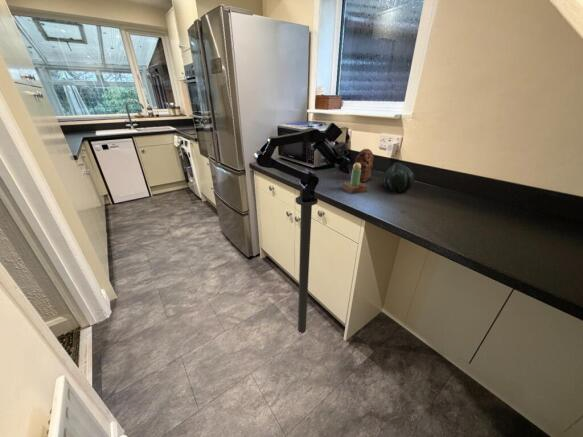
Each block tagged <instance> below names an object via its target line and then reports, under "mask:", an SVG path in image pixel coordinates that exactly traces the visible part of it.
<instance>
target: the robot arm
mask: <svg viewBox="0 0 583 437" xmlns="http://www.w3.org/2000/svg"><path fill="white" fill-rule="evenodd" d="M342 134H343V130H342V128H340V127H339V126H338V125H337V124H335V123H334V122H330V123H329V124H328V126H327V127H326V129H325V130H320V129H318V128H314V127H313V126H311V127H307V128H305V129H302V130H300V131H298V132H294V133H287V134H283V135H275V136H269V137H268V138H267V140H266V141H265V143H264V144H263V145H262V146H261V147H260V149H259V150H256V151H255V152H254V155H253V159H254V161H255V162H256V164H257V165H258V166H259V167H261V168H264V169H265V168H266V169H274V170H277V171H279V172H281V173H283V174H286V175H289V176H291V177H294V178H295V179H299V181H298V185H299V186H300V187H299V196H300V197H298V196H297V197H298V199H300V200H301V201H302V202H303V203H306V202H311V201H315V199H313V198H314V197H315V190H316V188H317V186H318V185H319V182H320V178H319V176H318V175H317V174H316V173H315V172H314V171H313V170H309V169H308V168H306V167H305V168H304V170H302V169H299V168H296V167H294V166H292V165H289V164H287V163H285V162H283V161H280V160H278V159H276V158H274V157H273V155H274V152H275V151H276V149H277V147H282V146H287V145H293V144H298V143H309V144H311V145H310V150H311V151H313V152H315V151H316V150H317V151H318V152H319V153H320V156H321V159H320V160H321V161H322V162H323V163H324V164H327V165H328V166H331V167H333V168H335V169H336V170H337V171H339V172H341V173H344V174H347V175H350V173H351V172H350V169H349V163H350V162H351V160H350V159H349V158H348V157H347V156H341V155H342V153H343V152H346V151H347V150H348V146H347V143H346V142H344V141H338V140H337V139H339V137H340V136H341V135H342ZM330 143H333V145H331V144H330Z"/></svg>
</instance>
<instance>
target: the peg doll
mask: <svg viewBox="0 0 583 437" xmlns="http://www.w3.org/2000/svg"><path fill="white" fill-rule="evenodd" d="M360 175H361V164H360V163H355V162H354V164H353V165H352V169H351V176H350V182H351V185H353V186H358V185H359V181H360Z"/></svg>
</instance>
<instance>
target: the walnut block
mask: <svg viewBox="0 0 583 437" xmlns="http://www.w3.org/2000/svg"><path fill="white" fill-rule="evenodd" d="M341 186H342V189H343V190H345V191H346V192H348V193H349V194H351V195H352V194H361V193H366V192H367V188H368V186H367V185H366V184H363V182H359V185H358V186H353V185H351V181H346V182H345V181H344V182H342V185H341Z"/></svg>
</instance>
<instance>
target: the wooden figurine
mask: <svg viewBox="0 0 583 437" xmlns="http://www.w3.org/2000/svg"><path fill="white" fill-rule="evenodd" d="M374 158H375V157H374V154H373V151H372V150H371V149H370V148H363V149H361V150H360V151H359V153H358V155H357V156H356V157H355V161H354V164H355V163H360V164H361V175H360V181H359V182H360V183H365V182H369V180H371V177H372V170H373V168H374Z"/></svg>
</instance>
